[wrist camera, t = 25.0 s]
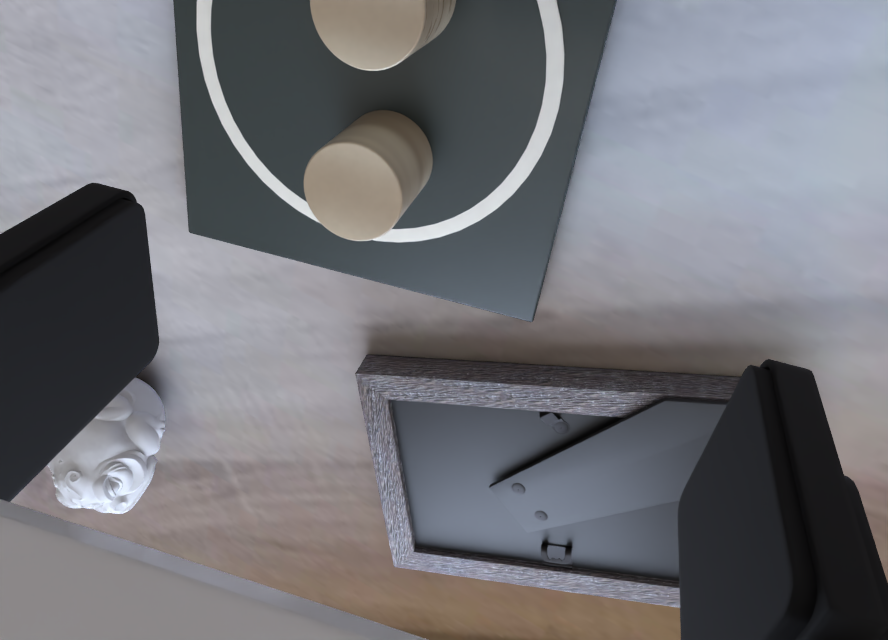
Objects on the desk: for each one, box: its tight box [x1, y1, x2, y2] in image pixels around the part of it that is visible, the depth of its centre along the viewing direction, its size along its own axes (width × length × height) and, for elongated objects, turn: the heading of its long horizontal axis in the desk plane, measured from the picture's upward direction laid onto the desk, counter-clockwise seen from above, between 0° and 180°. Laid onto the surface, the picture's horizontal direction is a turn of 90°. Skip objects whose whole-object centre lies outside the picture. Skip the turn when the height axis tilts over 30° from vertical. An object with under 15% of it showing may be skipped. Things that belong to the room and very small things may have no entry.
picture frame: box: [355, 355, 741, 608], centre depth 34 cm, size 13×2×18 cm
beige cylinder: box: [304, 110, 433, 241], centre depth 26 cm, size 4×4×4 cm
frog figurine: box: [47, 378, 166, 514], centre depth 37 cm, size 6×7×7 cm
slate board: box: [173, 0, 617, 322], centre depth 26 cm, size 18×16×1 cm
